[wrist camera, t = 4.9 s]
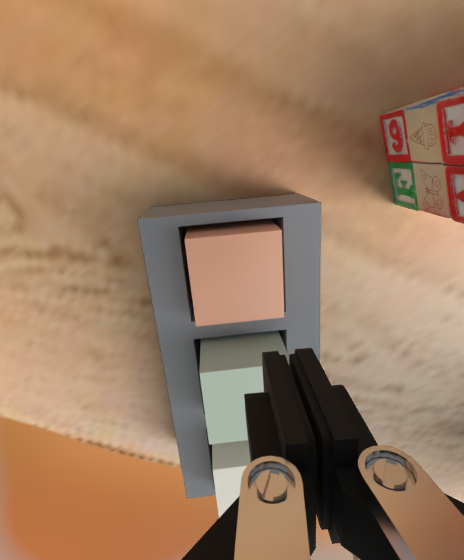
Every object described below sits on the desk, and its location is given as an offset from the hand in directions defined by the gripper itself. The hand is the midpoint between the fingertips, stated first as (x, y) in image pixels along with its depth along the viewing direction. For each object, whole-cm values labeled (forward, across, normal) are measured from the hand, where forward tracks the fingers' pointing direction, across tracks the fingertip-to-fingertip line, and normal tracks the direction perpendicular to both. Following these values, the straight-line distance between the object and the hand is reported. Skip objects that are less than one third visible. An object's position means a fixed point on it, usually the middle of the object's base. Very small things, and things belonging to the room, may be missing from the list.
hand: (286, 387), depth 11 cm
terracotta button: (+13, +1, -1) cm, 13 cm away
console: (+14, +1, +6) cm, 15 cm away
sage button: (+11, +1, +6) cm, 13 cm away
